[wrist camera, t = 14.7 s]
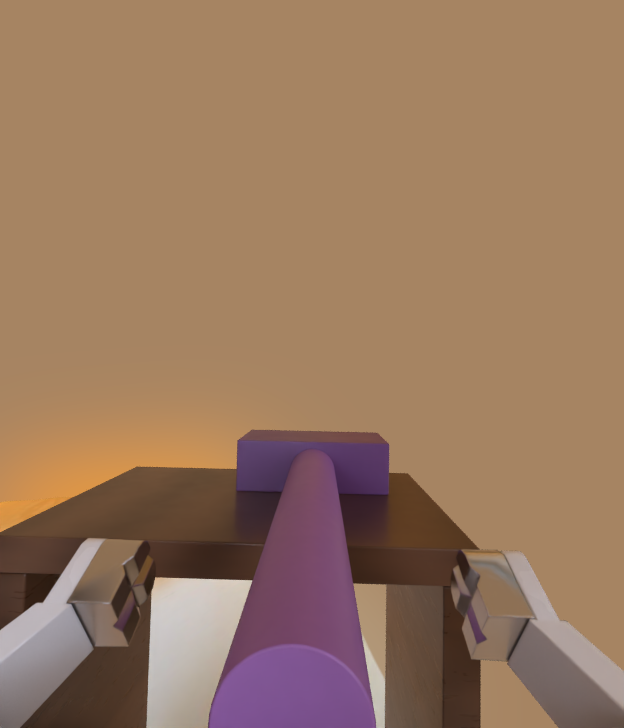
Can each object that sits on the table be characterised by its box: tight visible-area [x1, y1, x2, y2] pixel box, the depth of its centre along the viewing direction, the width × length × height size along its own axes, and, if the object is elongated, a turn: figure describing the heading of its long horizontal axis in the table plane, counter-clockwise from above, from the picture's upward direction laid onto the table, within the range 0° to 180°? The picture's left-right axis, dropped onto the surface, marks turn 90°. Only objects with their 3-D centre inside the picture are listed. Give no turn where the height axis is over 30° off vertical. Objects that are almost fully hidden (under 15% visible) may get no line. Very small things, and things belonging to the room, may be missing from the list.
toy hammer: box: [208, 430, 389, 728], centre depth 16 cm, size 20×9×3 cm, turn 179°
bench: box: [0, 467, 480, 728], centre depth 20 cm, size 20×12×25 cm, turn 89°
